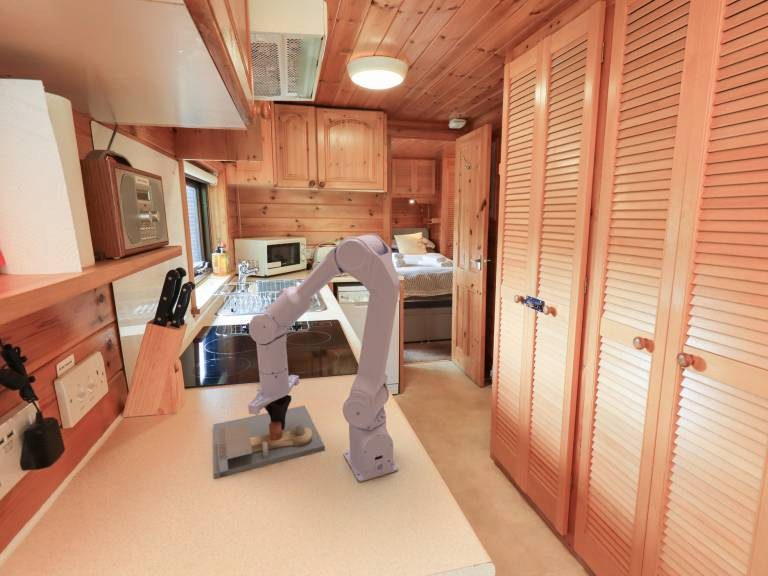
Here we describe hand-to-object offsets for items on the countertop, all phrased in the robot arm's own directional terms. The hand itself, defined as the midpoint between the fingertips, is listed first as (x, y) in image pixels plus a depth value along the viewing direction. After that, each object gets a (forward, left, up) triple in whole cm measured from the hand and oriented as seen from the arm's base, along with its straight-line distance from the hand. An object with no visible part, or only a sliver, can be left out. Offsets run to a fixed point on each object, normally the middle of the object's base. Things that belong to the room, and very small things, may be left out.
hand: (278, 429), depth 83 cm
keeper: (-2, +9, -3) cm, 10 cm away
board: (+3, +2, -3) cm, 5 cm away
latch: (-2, +1, -2) cm, 3 cm away
